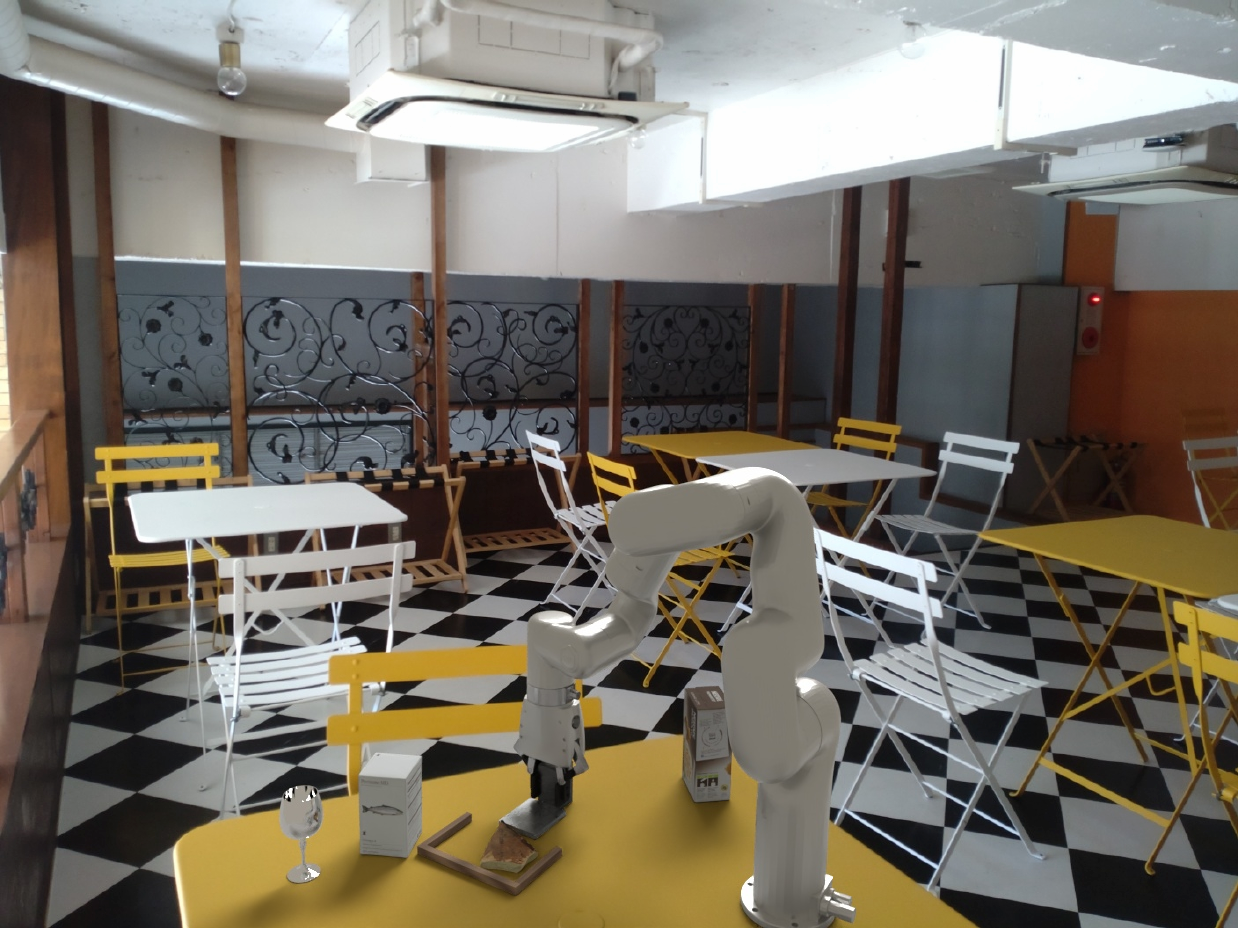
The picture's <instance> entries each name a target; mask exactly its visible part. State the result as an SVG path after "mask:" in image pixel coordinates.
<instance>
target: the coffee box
mask: <svg viewBox="0 0 1238 928" xmlns="http://www.w3.org/2000/svg"><path fill="white" fill-rule="evenodd" d="M683 690H684V691H683V692H684V694H683V695H684V698H683V699H684V700H683V730H682V731H683V735H682V736H683V738H682V739H683V740H682V769H681V770H682V773H681V774H682V775H681V777H682V780H683V781H684V783H685V785H686V787H687V790H688V792H689V794H690V796H691V798H692V800H693V802H694V803H702V802H703V803H704V802H715V801H716V802H718V801H728V800H730V799H731V791H732V790H731V785H732V784H731V783H732V766H733V765H732V760H733V752H732V749H731V746H730V741H729V736H728V728H727V718H726V709H725V700H724V690H723V689H721V687H720V686H719V685H709V686H707V685H706V686H704V685H703V686H696V687H686V688H684V689H683Z"/></svg>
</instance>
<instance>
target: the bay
mask: <svg viewBox="0 0 1238 928" xmlns="http://www.w3.org/2000/svg"><path fill="white" fill-rule="evenodd" d="M472 821H473V814H472V813H471V812H468V811H466V812H465V813H463V814H462V815H460V816H459V817H458V818H456V819H454V820H453V821H451V822H450V823H449V824H447V825H446V826H444V827H443V828H441V829H440V830H438V831H437V832H435V833H434V834H433V835H431V836H429V838H426V839H425V840H424V841H422V842H421V843H420V844H418V845H417V846H416V854H417V855H420V856H422V857H424V858H426V859H428V860H431V861H434V862H436V863H438V864H440V865H442V866H445V867H447V868H450V869H451V870H455V871H457V872H459V873H461V874H463V875H466V876H469V877H471V878H473V879H476V880H478V881H480V882H482V883H485V884H487V885H490V886H491V887H494V888H496V889H499V890H500V891H504V892H505V893H509V894H510V895H512V896H515V897H516V896H517V895H518V894H520V893H521V892H522V891H523V890H524V889H525V888H526V887H528V886H529V885H530V884H531V883H533V882H534V881H535V880H536V879H537V878H538V877H539V876H540V875H542V874H543V873H544V872H545V871H547V869H549V868H550V867H551V866H552V865H553V864H554V863H556V862H557V861H558V860H559V859H560V858H561V857H563V848H562V847H560V846H557V845H556V846H555V847H553V849H552V850H550V851H549V852H548V853H546V854H544V856H543V857H542V858H540V859H539V860H538V861H537V862H536V863H535V864H534V865H531V867H530V868H529V869H528V870H526V871H525V872H524V873H523V874H521V876H519V877H518V878H517V879H516V880H511V879H510V878H507V877H504V876H502V875H500V874H498V873H495V872H492V871H490V870H487V868H482V867H481V866H478V865H476V864H473V863H471V862H469V861H466V860H464V859H462V858H459V857H457V856H454V855H452V854H449V853H447V852H445V851H442V850H440V849H438V848H436V847H437V846H439V845H440V844H441V843H443V842H444V841H446V840H447V839H449V838H450V837H452V836H453V835H454V834H456V833H457V832H459V831H460V830H461V829H462V828H464V827H465V826H467V825H469V824H470V823H471V822H472Z"/></svg>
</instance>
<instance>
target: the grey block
mask: <svg viewBox="0 0 1238 928" xmlns="http://www.w3.org/2000/svg"><path fill="white" fill-rule="evenodd" d="M572 765H573V766H574V760H572ZM564 771H565V768H564ZM565 773H566V772H565ZM557 782H558V778H557V772H556V765H553V764H550V763H547V762H544V761H543V762H541V763H540V764H538V797H537V799H536V798H535V799H533V798H531V797H530V798H528V799H526V800H525V801H524V802H523V803H521V804H519V805H518V806H517V807H516V808H514V809H513V810H511V811H510V812H509V813H507V814H506V815H504V816H503V817H502V818H500V819H499V820H498V825H499V824H500V822H501V820H503V821H504V822H505V823H506V824H507V825H508V826H509V827H511V828H512V829H514V830H515V831H516V832H517V833H519V834H520V835H521V836H522V835H523V836H525V837H527V838H530V839H532V840H537V839H538V838H540V837H541V836H542V835H543V834H545V833H546V832H547V831H548V830H550V828H552V827H553V826H554V825H556V824H557V823H559V821H561V820H562V819H564V817H566V816H567V810H565V808H566V807H567V806H568V805H570V804H571V803H573V793H574V777H573V778H572V779H570V798H569V800H568V801H567V802H566V803H564V804H563V805H562V806H561V807H559V808H558V807H555V784H556V783H557Z"/></svg>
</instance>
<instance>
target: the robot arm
mask: <svg viewBox="0 0 1238 928" xmlns="http://www.w3.org/2000/svg"><path fill="white" fill-rule="evenodd" d="M811 514H812V513H811V510H810V508H809V505H808V502H807V501H806V499H805V497H804V495H803V494H802V492H801V490H799V488H798V487H797V486H796V485H795V484H794V483H793V482H792V481H791V480H789V479H788V478H787V477H785V476H784V475H782V473H781V474H780V473H778V472H777V471H774V470H771V469H768V468H765V467H757V466H747V467H745V466H744V467H739V468H735V469H731V470H726V471H723V472H721V473H718V474H714V475H711V476H707V477H703V478H701V479H696V480H693V481H692V480H691V481H688V482H684V483H680V484H659V485H655V486H650V487H647V488H644V489H639V490H635V491H633V492H629V493H627V494H625V495H623V496H622V497H621V498H620V499H618V500H617V501H616V503H615V504H614V505H613V507H612V508H611V510H610V512H609V515H608V521H607V531H608V537H609V539H610V541H611V543H612V545H613V546H614V548H613V550H612V552H611V553H610V555H609V557H608V558H607V560H606V563H605V564H604V565H605V566H604V567H605V568H604V572H605V576H606V578H607V580H608V581H609V582H610V584H611V585H612V587H613V588H614V589H616V590H617V592H616V594H615V596H614V598H613V600H612V601H611V603H610V604H609V607H608V608H607V609H606V611H605V612H604V613H603V614H602V615H601V616H598V617H595V618H593V619H590V620H589V621H587V622H584V623H581V624H578V625H576V621H575V618H574V617H573V616H572V615H571V614H569V613H567V612H564V611H559V610H545V611H540V612H539V611H538V612H536V613H534V614H532V616H530V617H529V618H528V621H527V624H526V625H527V626H526V638H527V639H526V694H525V695H524V697H523V701H522V706H521V711H520V718H519V729H518V738H517V740H516V741H515V742H514V744H513V749H514V751H515V752H516V753H517V754H518V755H519V756H520V758H521V760H522V762H523V763H524V764H525V766H526V771H527V772H526V773H527V774H529V776H530V777H529V781H530V782H529V784H530V785H529V787H530V798H533V799H535V800H536V799H538V764H540V763H541V762H543V761H544V762H547V763H550V764H553V765H556V772H557V778H558V782H557V783H556V784H555V807H558V808H559V807H561V806H562V805H563V804H564V803H566V802H567V801H568V800H569V798H570V779H572V778H573V779H574V777H575V776H579V775H582V774H584V773H585V772H587V771H588V770H589V769H590V767H589V763H588V762H587V760H586V758H585V754H586V753H585V752H586V740H585V739H586V738H585V726H584V717H583V711H582V710H583V709H582V706H581V701H580V698H581V694H582V693H581V691H579V690H577V689H576V680H586V679H590V678H591V677H594V676H596V675H597V674H599V673H602V672H604V671H605V670H607V669H608V668H610V667H612V666H614V665H616V664H618V663H620V662H623V661H624V660H627V658H628V657H630V656H631V655H632V654H633V653H635V651H636V650H637V648H638V647H639V646H640V644H641V642H642V640H643V639H644V637H645V636H646V634H647V633H648V631H649V629H650V627H652V624H653V623H654V620H655V618H656V616H657V613H658V605H659V591H660V589H661V587H662V586H663V584H664V582H665V580H666V579H667V577H668V575H669V574H670V572H671V571H672V568H673V567H674V565H675V563H676V562H677V560H678V558H679V557H680V556H681V553H682V552H689V551H695V550H702V549H707V548H713V547H716V546H720V545H723V544H727V543H728V542H731V541H733V540H736V539H738V538H740V537H743V536H746V535H748V534H751V536H752V539H753V540H752V541H753V542H752V543H753V545H752V549H751V556H750V562H749V564H750V565H749V577H750V583H751V596H752V610H751V614H749V615H748V616H746V617H745V618H743V619H741V620H739V622H737V623H735V625H734V626H733V627H732V628H731V629H730V631H729V632H728V633H727V635H726V636H725V640H724V642H723V646H722V649H721V657H720V667H721V679H722V680H721V681H722V688H723V689H722V691H723V693H724V700H725V709H726V718H727V728H728V736H729V741H730V746H731V749H732V756H733V757H734V760H735V762H736V763H737V764H738V766H739V767H740V769H741V770H742V771H743V772H744V773H745V774H746V775H747V776H748V777H749V778H750V779H752V780H754V781H757V791H756V792H757V793H756V810H755V811H756V812H755V832H754V833H755V834H754V852H753V854H754V856H753V875H752V876H751V877H750V878H748V879H747V880H745V882H744V884H743V885H742V888H741V891H740V904H741V905H740V906H741V908H742V909H743V911H744V913H745V915H747V917H748V918H749V919H750V920H752V922H754V923H755V924H757V925H758V926H759V927H762V928H828V927H829V926H831V924H832V923H833V922H834V919H835V918H837V919H838V920H842V921H845V922H847V923H850V924H851V925H852V924H853V923H854V922H855V918H856V915H857V908H856V907H855V906H852V903H853V897H852V896H851V895H848V894H845V893H841V892H839V891H838V892H837V891H836V888H833V876H832V875H829V874H827V865H828V846H829V830H830V829H829V828H830V814H831V804H832V802H831V801H832V788H833V776H834V770H835V761H836V756H837V752H838V747H839V743H840V742H839V741H840V738H841V737H840V735H841V725H842V717H841V709H840V705H839V703H838V701H837V699H836V697H835V695H834V694H833V692H832V691H831V690H830V688H828V686H826V685H825V684H823V682H820V681H818V680H817V679H814V678H811V677H806V676H802V675H804V674H806V673H807V672H808V671H809V670H810V669H811V668H813V667H814V666H815V665H816V664H817V663H818V662H819V660H820V659H821V657H822V655H823V653H824V650H825V631H824V623H823V622H824V621H823V614H822V612H823V610H822V605H821V604H822V603H821V592H820V583H819V576H818V568H817V557H816V545H815V544H816V543H815V542H816V541H815V529H814V523H813V519H812V515H811ZM572 761H573V763H574V764H575V766H574V764H573V765H572ZM564 768H565V771H564ZM565 772H566V773H565Z"/></svg>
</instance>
